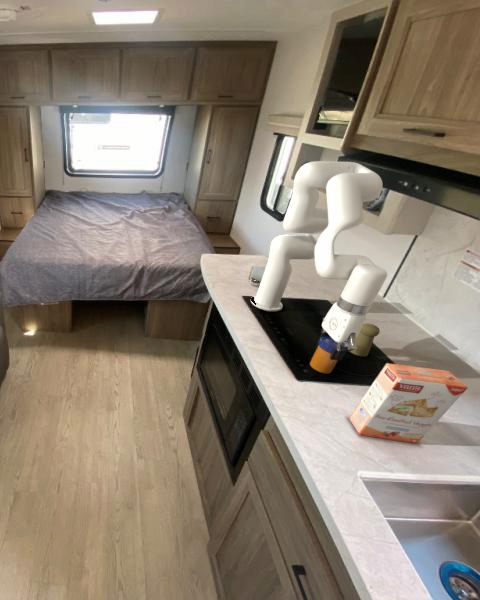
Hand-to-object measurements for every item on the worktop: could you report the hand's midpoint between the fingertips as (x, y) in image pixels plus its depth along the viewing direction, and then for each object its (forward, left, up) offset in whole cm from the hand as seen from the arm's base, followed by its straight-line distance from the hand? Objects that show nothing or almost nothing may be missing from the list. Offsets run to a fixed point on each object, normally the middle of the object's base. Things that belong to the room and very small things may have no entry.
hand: (328, 351), depth 106 cm
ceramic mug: (-62, -4, -7) cm, 62 cm away
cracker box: (+25, +5, -7) cm, 26 cm away
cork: (-12, +17, -7) cm, 22 cm away
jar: (0, 0, -7) cm, 7 cm away
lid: (0, 0, +3) cm, 3 cm away
